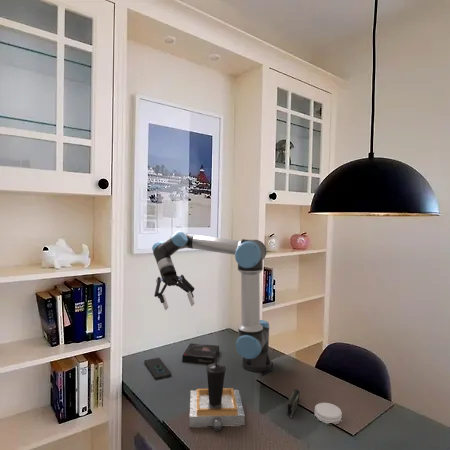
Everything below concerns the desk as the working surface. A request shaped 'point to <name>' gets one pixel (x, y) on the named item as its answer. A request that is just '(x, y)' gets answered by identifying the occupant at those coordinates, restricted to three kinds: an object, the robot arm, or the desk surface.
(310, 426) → the desk surface
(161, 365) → the smart home device
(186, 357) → the portable cd player
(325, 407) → the coaster
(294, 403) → the mobile phone
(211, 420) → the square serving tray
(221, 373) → the drinking cup
